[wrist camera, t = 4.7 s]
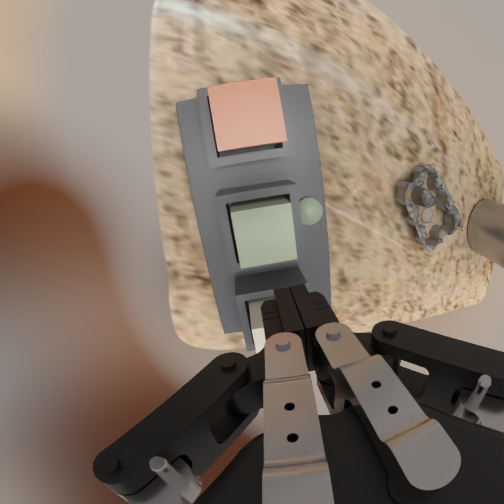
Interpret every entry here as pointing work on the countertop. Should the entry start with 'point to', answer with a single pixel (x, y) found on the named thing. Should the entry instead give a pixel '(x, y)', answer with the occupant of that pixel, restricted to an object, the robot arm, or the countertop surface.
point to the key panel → (252, 187)
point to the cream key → (257, 322)
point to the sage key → (264, 231)
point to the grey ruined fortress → (428, 200)
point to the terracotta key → (247, 114)
